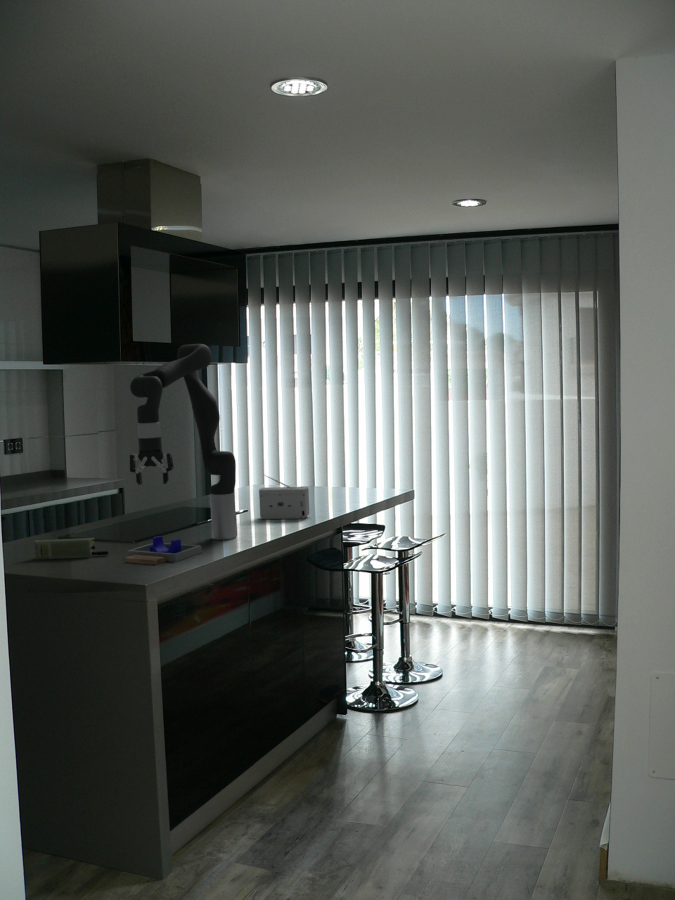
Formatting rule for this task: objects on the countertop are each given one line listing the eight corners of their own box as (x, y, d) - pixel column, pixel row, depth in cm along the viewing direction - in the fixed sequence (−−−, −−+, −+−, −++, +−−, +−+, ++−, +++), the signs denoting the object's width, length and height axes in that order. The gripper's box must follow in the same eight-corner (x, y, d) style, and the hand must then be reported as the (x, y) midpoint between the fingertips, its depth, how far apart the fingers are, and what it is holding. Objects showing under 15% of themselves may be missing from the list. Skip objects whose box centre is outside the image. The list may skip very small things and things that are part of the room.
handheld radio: (38, 558, 301) (109, 555, 301) (35, 560, 297) (107, 557, 298) (36, 539, 300) (108, 536, 301) (33, 541, 296) (106, 539, 297)
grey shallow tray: (155, 549, 308) (154, 542, 308) (201, 552, 300) (201, 545, 299) (127, 557, 295) (127, 550, 295) (175, 561, 286) (175, 554, 286)
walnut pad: (134, 559, 293) (134, 554, 292) (165, 561, 287) (165, 557, 287) (125, 562, 288) (124, 557, 288) (156, 564, 282) (155, 560, 282)
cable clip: (149, 554, 300) (149, 538, 299) (160, 552, 303) (159, 535, 303) (171, 559, 292) (170, 541, 291) (181, 556, 295) (180, 539, 295)
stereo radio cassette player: (309, 516, 370) (308, 470, 368) (307, 519, 361) (305, 472, 360) (262, 517, 372) (260, 471, 370) (258, 520, 364) (256, 473, 362)
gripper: (173, 434, 288) (176, 481, 290) (132, 435, 289) (135, 483, 291) (167, 436, 280) (170, 485, 282) (125, 437, 281) (128, 486, 283)
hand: (152, 484), depth 286 cm, fingers open, 8 cm apart
